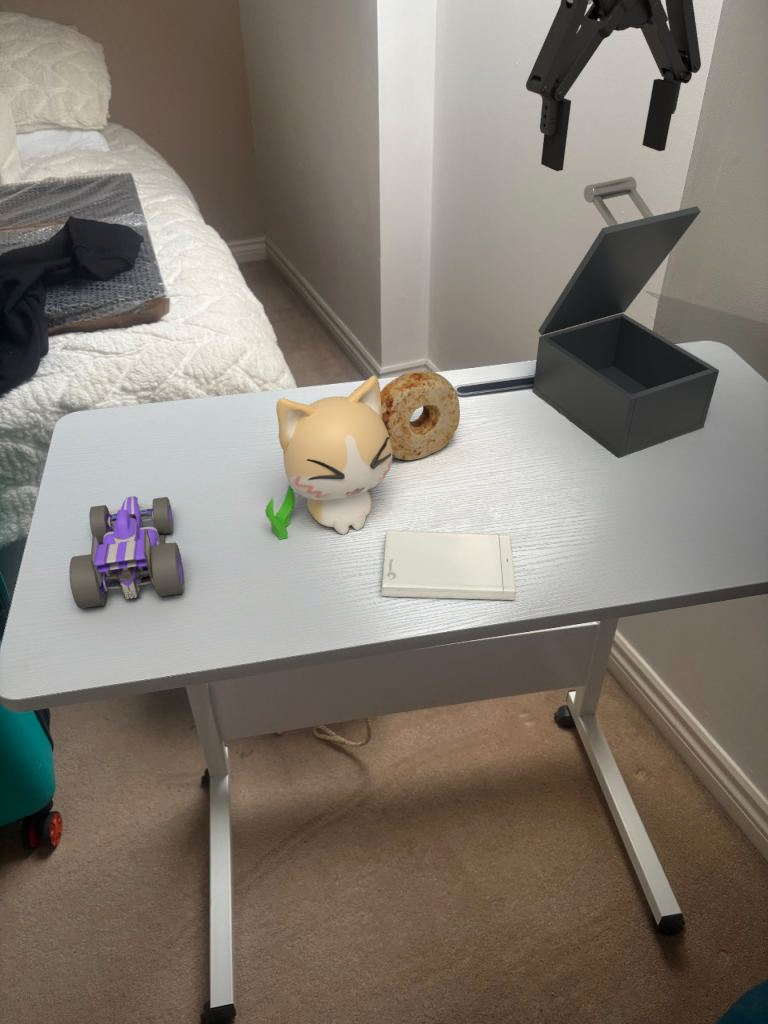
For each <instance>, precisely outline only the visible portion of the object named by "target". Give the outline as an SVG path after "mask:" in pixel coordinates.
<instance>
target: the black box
mask: <svg viewBox="0 0 768 1024" xmlns="http://www.w3.org/2000/svg"><path fill="white" fill-rule="evenodd" d="M719 373H720V369H718V368H717V367H715V366H713V365H711V364H710V363H708V362H706V361H705V360H703V359H702V358H699V357H698V356H696V355H695V354H693V353H691V352H690V351H688V350H686V349H684V348H683V347H681V346H679V345H677V344H676V343H674V342H672V341H671V340H669V339H667V338H666V337H664V336H663V335H661V334H659V333H658V332H656V331H654V330H652V329H650V328H649V327H647V326H645V324H642V323H640V322H638V321H637V320H635V319H634V318H631V317H630V316H628V315H626V314H625V313H624V312H623V313H619V314H616V315H612V316H609V317H605V318H602V319H598V320H594V321H591V322H587V323H584V324H580V325H577V326H573V327H569V328H566V329H562V330H559V331H555V332H552V333H548V334H544V335H540V336H538V344H537V353H536V361H535V368H534V378H533V384H532V385H533V386H532V393H534V394H535V395H536V396H537V397H539V398H540V399H542V401H544V402H545V403H546V404H548V405H549V406H550V407H552V408H553V409H554V410H555V411H557V412H558V413H560V414H561V415H562V416H563V417H565V418H566V419H567V420H569V422H571V423H573V424H574V425H575V426H576V427H578V428H579V429H580V430H582V431H583V432H584V433H585V434H587V435H588V436H589V437H591V438H592V439H593V440H594V441H596V442H597V443H598V444H600V446H602V447H603V448H605V449H606V450H608V452H610V453H611V454H613V455H614V457H617V458H619V459H620V458H623V457H624V456H628V455H631V454H633V453H636V452H639V451H642V450H644V449H647V448H649V447H653V446H656V445H658V444H660V443H664V442H666V441H670V440H672V439H675V438H678V437H681V436H683V435H686V434H689V433H691V432H694V431H697V430H701V429H703V428H704V427H705V424H706V420H707V416H708V413H709V409H710V406H711V402H712V398H713V395H714V391H715V388H716V384H717V381H718V377H719Z"/></svg>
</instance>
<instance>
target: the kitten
mask: <svg viewBox="0 0 768 1024" xmlns="http://www.w3.org/2000/svg"><path fill="white" fill-rule="evenodd" d="M379 381H380V380H379V378H378V377H377V375H371V376H370V377H369V378H367V379H366V380H365V381H364V382H363V383H362V384H361V385H359V386H358V387H357V388H356V389H354V390H353V391H351V393H350V394H349V395H348V396H329V397H323V398H321V399H318V400H316V401H314V402H311V403H310V404H305V403H301V402H297V401H293V400H291V399H288V398H285V397H281V398H279V399H278V400H277V401H276V406H275V407H276V408H275V409H276V416H277V423H278V440H279V441H278V442H279V444H280V447H281V449H282V451H283V454H282V455H283V466H284V471H285V475H286V478H287V481H288V483H289V485H288V486H287V491H286V493H285V497H284V500H283V503H282V505H281V506H280V508H279V509H278V511H277V512H276V514H275V511H274V496H272V497H271V499H270V500H269V501H268V504H267V505H266V508H265V510H264V511H265V516H266V518H268V520H269V522H270V526H271V532H272V533H273V534H274V535H275V536H276V537H277V538H278V540H283V539H288V537H289V536H288V530H287V526H289V525H291V521H290V517H291V516H292V513H293V511H294V510H295V504H296V497H295V492H296V493H297V494H298V495H300V496H301V497H303V498H305V499H306V506H307V510H308V511H309V513H310V514H311V516H312V517H313V518H314V520H315V521H316V522H317V523H319V524H321V525H322V526H325V527H329V528H334V530H335V531H336V532H337V533H339V534H341V535H346V534H347V533H348V532H349V529H350V526H351V527H352V528H353V529H354V530H356V531H358V530H359V531H360V530H361V529H362V528H363V527H364V524H365V522H366V518H367V516H368V514H369V513H370V512H371V509H372V497H371V494H370V492H369V490H371V489H372V488H374V487H376V486H377V485H378V484H380V483H381V482H383V480H384V479H385V478H386V477H387V475H388V474H389V473H390V470H391V467H392V463H393V456H392V448H391V443H390V437H389V435H388V432H387V429H386V427H385V425H384V423H383V421H382V406H381V395H380V392H381V387H380V382H379ZM294 491H295V492H294Z"/></svg>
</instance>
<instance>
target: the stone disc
mask: <svg viewBox="0 0 768 1024" xmlns="http://www.w3.org/2000/svg"><path fill="white" fill-rule="evenodd" d="M380 395H381V406H382V421H383V423H384V425H385V427H386V429H387V432H388V435H389V437H390V443H391V448H392V458H396V459H399V460H403V461H414V460H419V459H422V458H426V457H427V456H430V455H433V454H434V453H437V452H438V451H440V450H441V449H443V448H444V447H446V445H448V443H449V442H450V441H451V440H452V439H453V437H454V436H455V433H456V432H457V430H458V428H459V425H460V419H461V418H460V417H461V409H460V407H461V405H460V400H459V395H458V393H457V390H456V389H455V387H454V386H453V385H452V383H451V382H450V381H449V380H448V379H447V378H446V377H445V376H443V375H442V374H439V373H437V372H435V371H429V370H412V371H408V372H406V373H403V374H401V375H399V376H398V377H396V378H394V379H393V380H391V381H390V382H388V383H387V384H386V385H385V386H384V387H383V388H382V389H381V390H380ZM421 408H422V412H421V414H420V415H418V418H416V419H414V420H412V421H411V418H412V417H413V414H414V413H415V412H416V411H417V410H419V409H421Z"/></svg>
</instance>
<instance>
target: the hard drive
mask: <svg viewBox="0 0 768 1024" xmlns="http://www.w3.org/2000/svg"><path fill="white" fill-rule="evenodd" d="M383 553H384V554H383V565H382V577H381V578H382V579H381V597H388V598H389V597H392V598H397V597H398V598H420V599H421V598H422V599H424V598H425V599H428V598H429V599H459V600H461V599H463V600H497V601H499V600H500V601H515V600H516V596H517V595H516V589H517V588H516V579H515V577H516V576H515V569H514V560H513V547H512V538H511V534H510V533H509V534H504V533H478V532H477V533H476V532H450V531H449V532H448V531H417V530H386V531H385V540H384V551H383Z"/></svg>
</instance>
